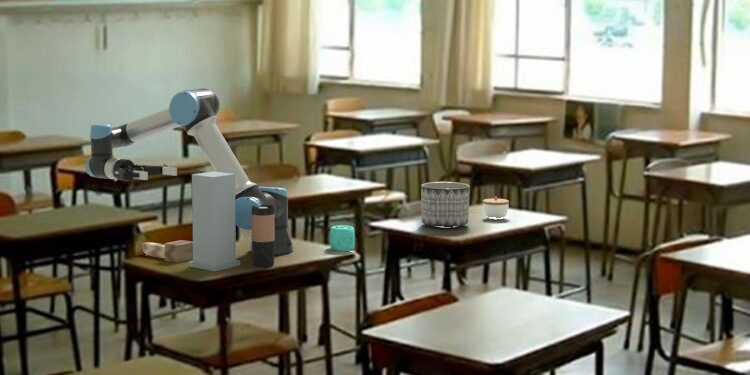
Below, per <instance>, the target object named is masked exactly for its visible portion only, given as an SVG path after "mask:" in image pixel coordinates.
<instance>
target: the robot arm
mask: <svg viewBox="0 0 750 375" xmlns="http://www.w3.org/2000/svg"><path fill="white" fill-rule="evenodd" d="M220 104H221V103H220V100H219V98H218V96H217V94H216V93H215V92H214V91H212V90H211V89H208V88H196V89H184V90H183V91H180V92H177V93H175V94H174V95H173V96H172V98H171V100H170V102H169V106H168V108H165V109H162V110H159V111H157V112H154V113H152V114H149V115H146V116H143V117H141V118H137V119H136V120H133V121H130V122H128V123H125V124H121V125H119V126H115V127H114V126H112V125H111V124H110V123H94V124H92V125H90V134H89V137H90V151H91V153H90V154H91V155H90V157H88V159H86V163H85V171H86V173H87V175H89V176H90V177H92V178H93V177H94V178H97V179H109V180H113V181H114V182H117V181H118V180H119V181H125V182H127V181H133V180H142V181H148V180H149V175H151V174H152V175H153V174H155V175H157V174H159V175H161V174H162V175H165V176H173V177H174V176H175V177H176V176H178V168H177V167H174V166H172V167H171V166H168V165H166V163H165V164H163V165H145V164H141V165H139V164H135V163H134V162H133V161H132V160H130V159H126V158H118V157H117V158H115V157H114V156H113V155H114V154H113V153H114V152H113V149H117V148H122V147H123V148H124V147H129V146H132V145H133V144H135V143H137V142H139V141H142V140H146V139H147V138H151V137H153V136H156V135H159V134H163V133H164V132H168V131H171V130H173V129H176V128H178V127H181V126H182V127H183V129H184V131H185V133H186V134H187V135H189V136H192V137H194V139H195V140H196V142H197V144H198V145H199V147H200V148H201V150H202V152H203V154H204V155H205V157H206V160H208V162H209V164H210V165H211V167H212V169H213V170H214V172H222V173H230V174H235V226H236V227H239V229H242V230H245V231H252V206H255V207H259V206H261V205H272V206H274V234H275V243H274V256H277V255H285V254H286V253H287V254H290V253H292V252H293V251H294V250H293V249H294V247H293V246H294V244H293V241H292V238H291V235H290V232H289V230H288V229H289V227H288V226H289V225H288V223H289V221H288V220H289V214H288V213H289V211H288V209H289V205H288V204H289V196H288V190H287V189H286V188H285V187H272V186H259V185H258V184H257V183H255V182H252V181H251V180H250V179H249V177H248V176H247V174H246V172H245V170H244V169H243V167H242V166H241V163H240V162H239V160H238V159H237V157H236V156H235V154H234V153H233V152H234V151H232V149H231V147H230V146H229V143H228V141H227V140H226V139H225V137H224V136H223V134H222V132H221V131H220V128H219V127H218V126H217V124H216V121H217V115H218V114H219V110H220V106H221V105H220ZM249 252H250V253H252V240H251V242H250V245H249Z"/></svg>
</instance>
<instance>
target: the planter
mask: <svg viewBox="0 0 750 375" xmlns="http://www.w3.org/2000/svg"><path fill="white" fill-rule="evenodd" d="M420 187H421V189H420V190H421V191H420V192H421V193H420V194H421V199H420V200H421V201H420V202H421V222H422V224H424V225H426V224H427V225H426V226H431V225H432V226H444V227H453V226H458V227H461V226H462V227H463V226H466V225H467V224H468V223H469V214H470V212H469V211H470V209H469V208H470V191H471V190H470V189H471V186H470V185H469V184H467V183H462V182H453V181H433V182H432V181H431V182H425V183H422V184H421V186H420ZM432 226H431V227H432Z"/></svg>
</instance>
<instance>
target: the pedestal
mask: <svg viewBox="0 0 750 375" xmlns="http://www.w3.org/2000/svg"><path fill="white" fill-rule="evenodd" d="M191 193H192V194H191V201H192V202H191V203H192V208H191V209H192V211H191V212H192V242H193V259H192V260H190V261H188V267H189V268H190V267H191V268H195V269H200V270H205V271H210V272H211V271H212V272H218V271H223V270H226V269H227V270H228V269H232V268H235V267H240V266H241V260H237V252H236V250H237V246H236V245H237V244H236V241H237V240H236V239H237V238H236V236H237V232H236V227H237V225H236V224H235V174H230V173H222V172H215V170H214V171H207V172H202V173H201V172H199V173H194V174H191Z"/></svg>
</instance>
